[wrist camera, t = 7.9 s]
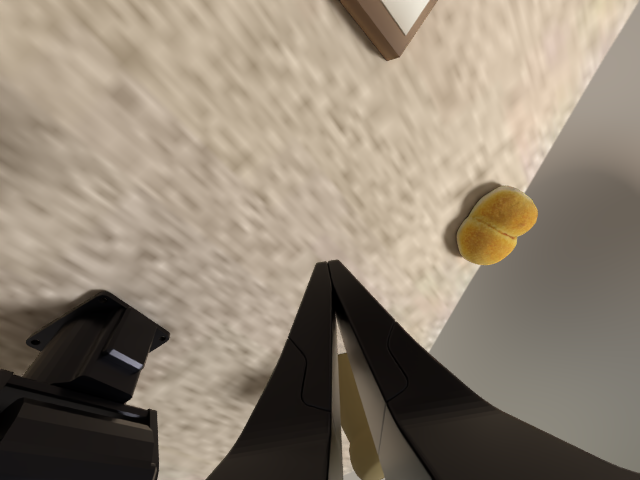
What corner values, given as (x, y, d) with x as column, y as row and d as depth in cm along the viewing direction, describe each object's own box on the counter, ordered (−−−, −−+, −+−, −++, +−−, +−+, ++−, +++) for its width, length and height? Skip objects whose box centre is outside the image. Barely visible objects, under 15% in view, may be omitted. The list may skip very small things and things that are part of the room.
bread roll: (440, 248, 28) (469, 266, 25) (489, 175, 26) (528, 185, 22) (479, 263, 32) (509, 281, 29) (525, 201, 29) (564, 213, 26)
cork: (308, 375, 30) (343, 490, 21) (346, 346, 30) (398, 448, 21) (333, 390, 34) (373, 495, 25) (367, 364, 34) (420, 459, 24)
